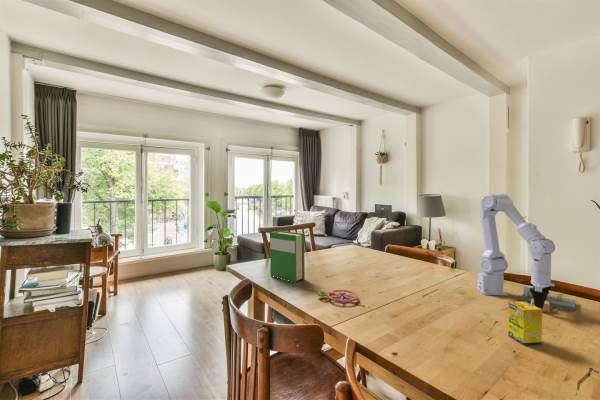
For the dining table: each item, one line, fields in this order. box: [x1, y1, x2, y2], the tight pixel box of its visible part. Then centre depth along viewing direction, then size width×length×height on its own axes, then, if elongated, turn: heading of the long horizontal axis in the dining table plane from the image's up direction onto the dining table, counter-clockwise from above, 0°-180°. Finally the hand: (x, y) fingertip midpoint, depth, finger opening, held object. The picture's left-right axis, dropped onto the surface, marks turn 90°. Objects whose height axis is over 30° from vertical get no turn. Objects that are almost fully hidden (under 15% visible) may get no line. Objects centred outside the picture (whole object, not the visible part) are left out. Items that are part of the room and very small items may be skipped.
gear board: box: [521, 285, 577, 312], centre depth 119 cm, size 16×10×5 cm, turn 45°
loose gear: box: [530, 299, 551, 313], centre depth 113 cm, size 6×6×3 cm
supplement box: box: [507, 301, 543, 346], centre depth 90 cm, size 6×6×11 cm
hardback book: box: [269, 230, 306, 283], centre depth 154 cm, size 18×7×24 cm, turn 50°
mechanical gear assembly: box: [307, 287, 366, 308], centre depth 127 cm, size 30×4×15 cm
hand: (540, 305), depth 113 cm, fingers closed on loose gear, 6 cm apart
